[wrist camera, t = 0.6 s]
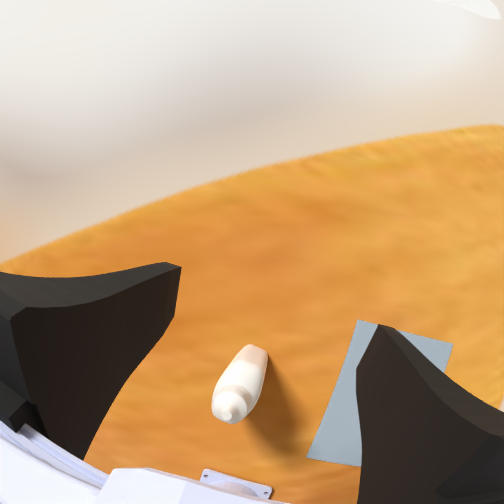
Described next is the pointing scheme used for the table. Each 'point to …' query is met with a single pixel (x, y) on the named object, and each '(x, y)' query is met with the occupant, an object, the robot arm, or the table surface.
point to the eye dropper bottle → (240, 385)
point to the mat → (345, 402)
